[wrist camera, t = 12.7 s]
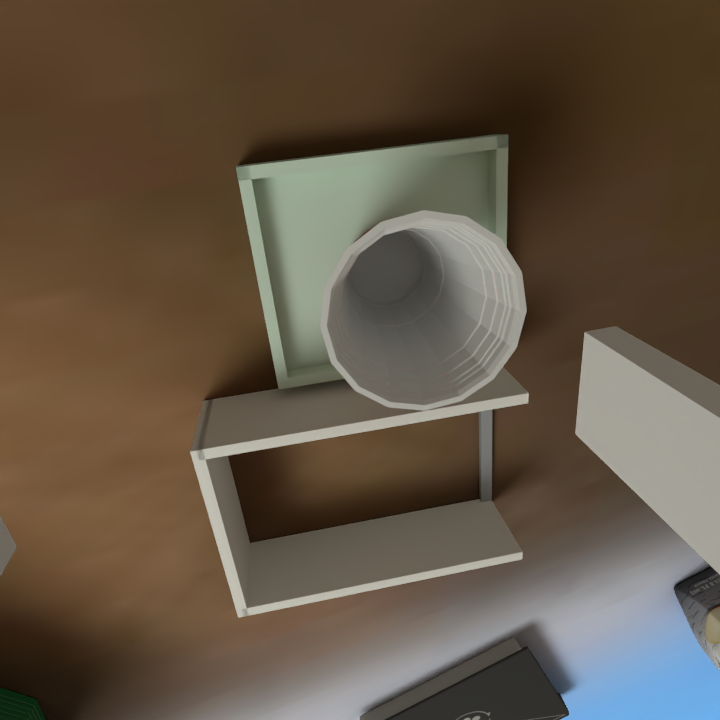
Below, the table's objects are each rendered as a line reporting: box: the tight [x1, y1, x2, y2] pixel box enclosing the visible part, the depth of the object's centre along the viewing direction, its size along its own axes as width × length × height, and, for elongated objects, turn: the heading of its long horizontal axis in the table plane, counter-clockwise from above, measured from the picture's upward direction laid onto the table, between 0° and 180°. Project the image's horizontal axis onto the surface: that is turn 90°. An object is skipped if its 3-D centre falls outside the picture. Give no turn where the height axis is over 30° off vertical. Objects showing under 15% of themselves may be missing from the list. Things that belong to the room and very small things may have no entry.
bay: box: [190, 367, 529, 618], centre depth 41 cm, size 23×16×7 cm
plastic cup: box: [320, 210, 527, 411], centre depth 32 cm, size 11×11×12 cm
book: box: [360, 637, 569, 720], centre depth 60 cm, size 22×15×3 cm
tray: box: [236, 134, 508, 389], centre depth 37 cm, size 18×16×2 cm
